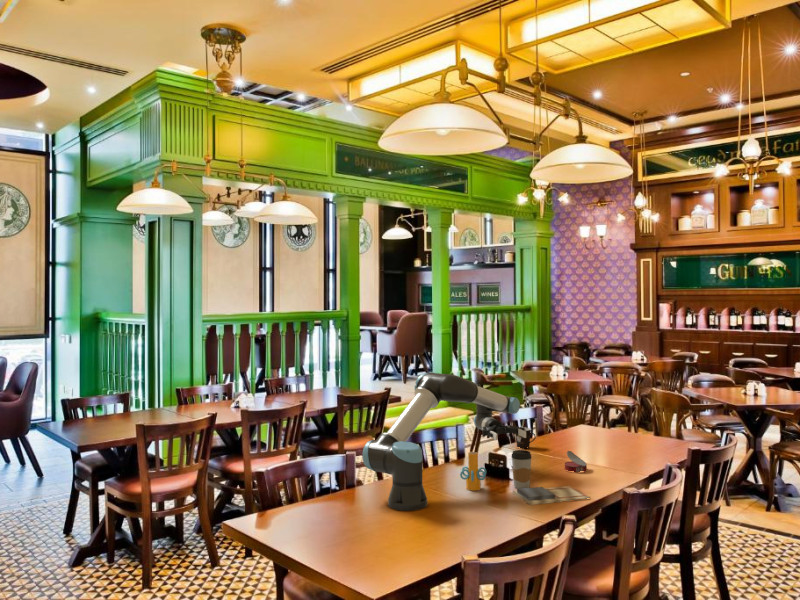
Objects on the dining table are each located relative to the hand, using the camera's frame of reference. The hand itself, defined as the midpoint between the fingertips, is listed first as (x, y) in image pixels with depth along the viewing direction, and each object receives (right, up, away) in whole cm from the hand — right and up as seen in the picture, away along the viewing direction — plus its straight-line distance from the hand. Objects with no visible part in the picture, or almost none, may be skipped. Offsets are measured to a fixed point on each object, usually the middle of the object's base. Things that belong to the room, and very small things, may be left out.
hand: (511, 435), depth 280 cm
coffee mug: (+18, -20, +61) cm, 67 cm away
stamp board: (+12, -19, -23) cm, 32 cm away
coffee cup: (+3, -20, -11) cm, 23 cm away
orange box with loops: (-18, -20, -12) cm, 29 cm away
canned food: (+33, -20, +16) cm, 41 cm away
